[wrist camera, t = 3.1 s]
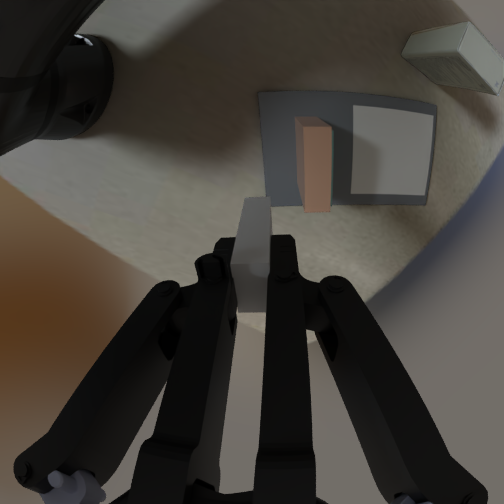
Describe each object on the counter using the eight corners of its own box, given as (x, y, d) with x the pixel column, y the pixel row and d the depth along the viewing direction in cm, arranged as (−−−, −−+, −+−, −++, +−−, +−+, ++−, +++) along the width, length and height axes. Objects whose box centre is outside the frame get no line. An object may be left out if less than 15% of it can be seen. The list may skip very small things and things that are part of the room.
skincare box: (446, 61, 20) (511, 67, 10) (435, 86, 22) (499, 99, 12) (409, 30, 19) (470, 18, 9) (397, 55, 21) (457, 50, 11)
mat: (266, 204, 34) (266, 206, 33) (258, 92, 26) (257, 92, 26) (423, 203, 32) (425, 205, 31) (434, 104, 24) (436, 105, 23)
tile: (297, 182, 31) (304, 212, 25) (294, 116, 27) (303, 126, 20) (319, 182, 31) (332, 211, 25) (318, 116, 27) (334, 127, 20)
